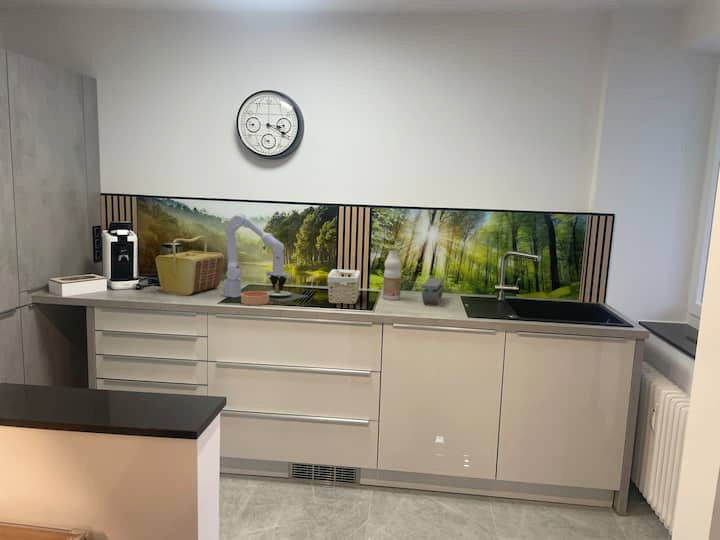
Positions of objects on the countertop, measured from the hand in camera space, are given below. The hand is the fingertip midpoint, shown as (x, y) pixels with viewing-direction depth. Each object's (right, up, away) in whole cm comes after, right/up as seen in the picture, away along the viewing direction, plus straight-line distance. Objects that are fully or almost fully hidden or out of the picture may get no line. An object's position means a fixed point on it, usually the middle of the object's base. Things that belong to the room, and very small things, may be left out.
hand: (278, 289), depth 311 cm
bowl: (-10, -6, -15) cm, 18 cm away
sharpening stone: (+83, -7, 0) cm, 84 cm away
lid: (0, -2, 0) cm, 2 cm away
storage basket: (+35, -6, -1) cm, 36 cm away
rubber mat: (+1, -4, +1) cm, 4 cm away
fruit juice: (+62, -5, +5) cm, 62 cm away
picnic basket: (-50, -1, +12) cm, 52 cm away
